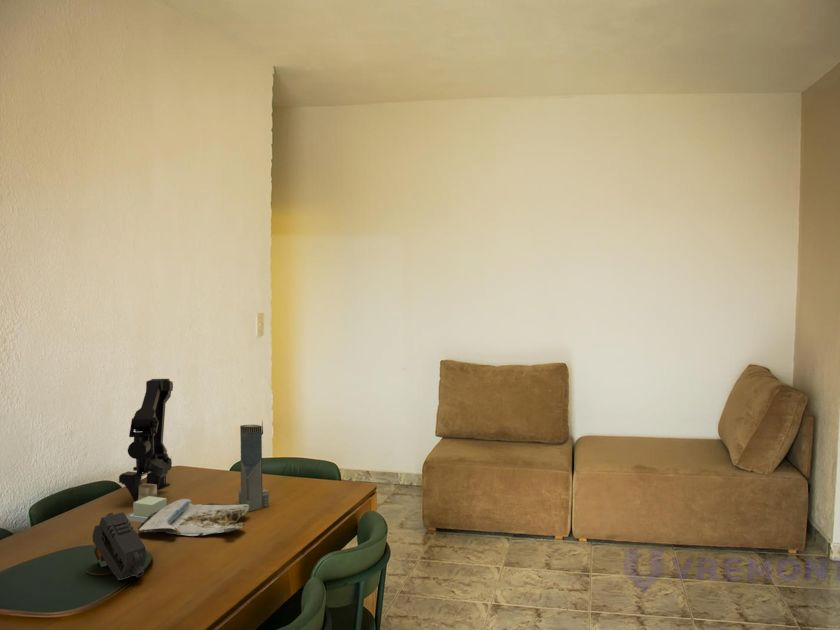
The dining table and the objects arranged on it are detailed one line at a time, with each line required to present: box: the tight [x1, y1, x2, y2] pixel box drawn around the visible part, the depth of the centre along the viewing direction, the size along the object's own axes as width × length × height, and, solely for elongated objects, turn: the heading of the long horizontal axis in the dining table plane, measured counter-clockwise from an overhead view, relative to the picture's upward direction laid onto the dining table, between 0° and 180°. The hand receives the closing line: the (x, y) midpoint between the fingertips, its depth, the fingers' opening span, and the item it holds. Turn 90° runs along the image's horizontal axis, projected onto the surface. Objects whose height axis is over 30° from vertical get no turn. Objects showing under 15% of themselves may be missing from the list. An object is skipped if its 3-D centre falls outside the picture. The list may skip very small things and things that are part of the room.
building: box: [238, 421, 270, 513], centre depth 226 cm, size 10×9×30 cm
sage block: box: [132, 496, 168, 517], centre depth 220 cm, size 7×7×4 cm
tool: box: [92, 511, 148, 579], centre depth 176 cm, size 6×19×15 cm, turn 51°
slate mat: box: [125, 511, 148, 524], centre depth 220 cm, size 16×12×1 cm
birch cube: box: [138, 482, 158, 500], centre depth 234 cm, size 5×5×5 cm
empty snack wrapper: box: [136, 498, 249, 537], centre depth 209 cm, size 24×30×5 cm
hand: (145, 497), depth 234 cm, fingers open, 9 cm apart
